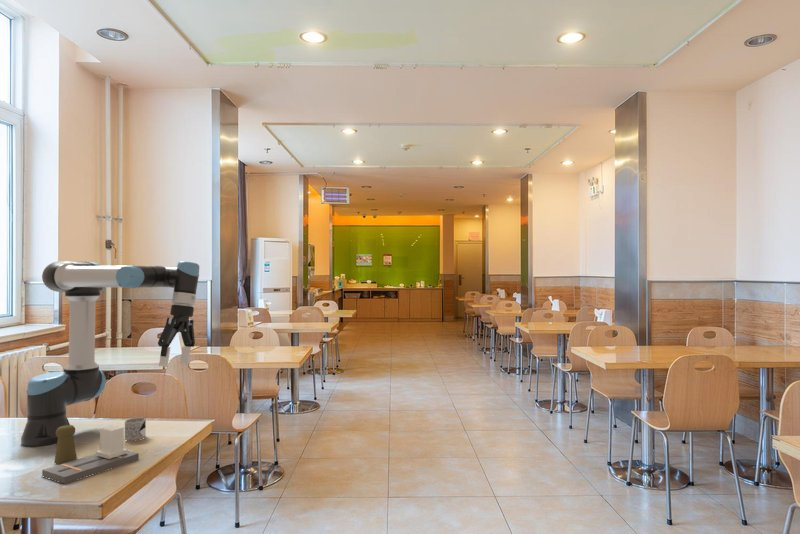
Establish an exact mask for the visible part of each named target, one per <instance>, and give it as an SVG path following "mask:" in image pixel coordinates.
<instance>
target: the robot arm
mask: <svg viewBox="0 0 800 534" xmlns="http://www.w3.org/2000/svg"><path fill="white" fill-rule="evenodd" d="M41 278H42V279H41V280H42V282H43V284H44V285H45V287H46V288H47V289H49V290H51V291H53V292H57V293H58V292H59V293H65V295H64V297H65V298H66V299H67V300H68V301H69V316H68V318H69V319H68V322H69V323H68V325H69V327H68V330H69V331H68V364H66V365H65V366H64V367H63V371H51V372H45V373H41V374H38V375H36V376H33V377H32V378H30V379H29V381H28V382H27V387H26V394H27V395H26V397H27V399H26V400H27V401H26V405H27V407H26V410H27V413H26V416H27V418H26V419H27V420H26V423H25V426H24V428H23V432H22V434H21V438H20V445H22V446H25V447H38V446H39V447H40V446H45V445H47V446H48V445H52V444H57V441H58V437H57V436H56V430H57V429H58V428H59V427H61V426H65V425H71V424H70V421H69V419H68V417H67V406H70V405H71V406H72V405H75V404H79V403H83V402H88V401H91V400H94V399H95V398H98V397H99V396H100V395H101V394H102V393H103V392H104V390H105V388H106V385H107V384H106V383H107V378H106V375H105V374H104V372H103V370H101V369H100V365H99V364H98V363H97V362H96V361H95V360H96V359H95V354H96V353H95V350H96V347H95V346H96V308H97V307H96V304H97V303H96V301H97V300H98V299H99V298H100V297H101V292H102V291H103V290H105V288H124V289H125V288H126V289H137V288H139V289H140V288H173V292H172V299H171V303H172V304H171V305H170V306H171V307H170V311H169V312H170V316H172V317H167V319H166V322H165V325H164V328H163V330H162V332H161V334H160V337H159V340H158V341H157V345H158V346H159V347H160V348H161V350H160V357H159V362H158V363H159V364H158V366H159V367H168V366H169V358H170V354H171V346H170V345H171V344H172V342H173V341H174V339H175V338H176V335H177V334H178V333H180V334H181V338H182V341H183V346H182V350H181V355H180V365H184V366H188V365H189V361H190V356H191V349H192V348H194V347H195V345H196V340H195V339H196V337H195V331H194V329H195V328H194V319H192V317H194V312H195V307H194V306H195V301H196V300H197V297H196V295H197V289H198V282H199V278H200V265H199V264H198V263H196V262H190V261H184V260H183V261H178V262H177V265H176V266H174V267H173V266H164V265H153V266H152V265H135V264H133V265H132V264H130V265H129V264H128V265H101V264H99V263H97V262H93V261H73V260H72V261H71V260H70V261H68V260H59V261H54V262H51V263H49V264H47V265H46V267H45V268H44V270H43V271H42V275H41ZM190 318H191V319H190Z"/></svg>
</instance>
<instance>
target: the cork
mask: <svg viewBox="0 0 800 534" xmlns="http://www.w3.org/2000/svg"><path fill="white" fill-rule="evenodd" d="M75 433H76V427H75V426H74V425H71V424H70V425H65V426H61V427H59V428H58V429H57V430H56V436H57V437H58V441H57V443H56V448H55V456H54V463H53V464H55V463H56V464H55V465H60V464H63V463H67V462H70V461H73V460H77V459H78V457H77V451H76V442H75V437H74V435H75Z"/></svg>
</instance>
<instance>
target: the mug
mask: <svg viewBox="0 0 800 534" xmlns="http://www.w3.org/2000/svg"><path fill="white" fill-rule="evenodd" d="M146 425H147V421H146V417H134V418H133V417H132V418H128V419H126V420H125V421H124V441H125V440H127V441H126V442H136V441H135V440H138V441H141V440H140V439H142V440H144V439H145V437H146V438H147V436H146V435H147V434H146V431H147V429H146V428H147V427H146ZM143 438H144V439H143Z"/></svg>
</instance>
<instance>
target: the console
mask: <svg viewBox="0 0 800 534" xmlns="http://www.w3.org/2000/svg"><path fill="white" fill-rule="evenodd" d="M139 454H140V453H139V452H134V451H130V450H128V453H127V454H123V455H120V456H117V457H114V458H111V459H107V458H103V457H100V456H96V453H94V454H90V455H86V456H84V457H80V458H77V460H73V461H70V462H67V463H63V464H56V465H54V466H51V467H47V468H44V469H42V470H41V472H42V473H41V474H42V475H41V477H42V476H44V477H43V478H45V477H47V478H46V479H48V478H50V479H49V480H51V479H53V480H56V481H59V482H61V483H60V484H62V483H64V484H63V485H66V484H65V483H67V484H69V482H70V483H73V482H75V481H74V480H76V481H78V480H77V479H79V480H81V479H80V478H82V479H85V478H87V477H86V476H88V477H90V476H89V475H91V476H93V475H92V474H94V475H96V474H95V473H97V474H99V473H98V472H100V473H103V472H105V470H106V471H109V470H111V468H112V469H115V468H118V467H121V466H124V465H127V464H130V463H133V462H137V461H139V459H140V458H139ZM114 467H115V468H114ZM108 469H109V470H108ZM102 471H103V472H102ZM84 477H85V478H84ZM53 480H52V481H53ZM56 481H55V482H56ZM72 481H73V482H72ZM59 482H58V483H59Z"/></svg>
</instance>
